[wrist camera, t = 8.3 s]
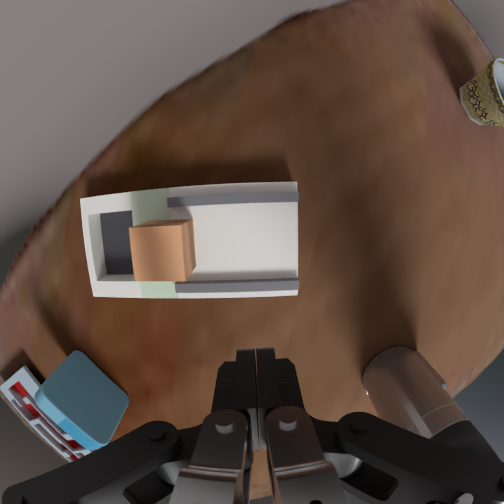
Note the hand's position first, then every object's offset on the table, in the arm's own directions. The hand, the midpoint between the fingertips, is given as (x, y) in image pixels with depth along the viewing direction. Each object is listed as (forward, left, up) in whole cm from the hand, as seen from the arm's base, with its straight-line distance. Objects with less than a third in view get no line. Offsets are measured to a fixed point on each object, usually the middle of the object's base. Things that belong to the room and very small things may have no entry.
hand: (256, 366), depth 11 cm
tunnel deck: (+7, -2, -22) cm, 23 cm away
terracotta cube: (+9, -2, -19) cm, 21 cm away
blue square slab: (+26, +20, -22) cm, 39 cm away
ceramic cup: (-35, -21, -22) cm, 46 cm away
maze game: (+42, +40, -22) cm, 62 cm away
